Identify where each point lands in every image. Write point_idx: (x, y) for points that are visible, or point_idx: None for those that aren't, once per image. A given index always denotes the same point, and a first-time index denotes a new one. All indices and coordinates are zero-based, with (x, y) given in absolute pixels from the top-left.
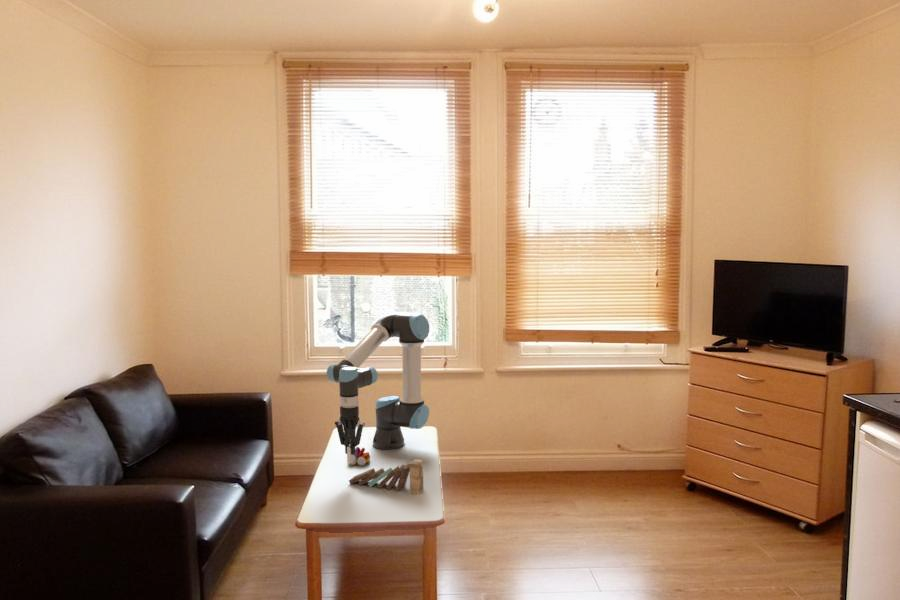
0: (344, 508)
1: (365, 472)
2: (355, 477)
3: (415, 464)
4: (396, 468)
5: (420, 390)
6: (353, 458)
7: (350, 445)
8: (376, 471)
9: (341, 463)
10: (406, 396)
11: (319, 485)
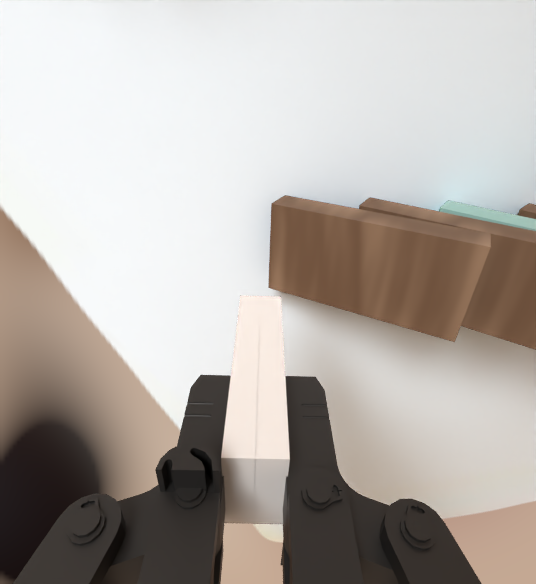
0: (367, 475)
1: (401, 272)
2: (317, 287)
3: None
4: None
5: None
6: (281, 317)
7: (287, 559)
8: (509, 254)
9: None
10: None
11: (110, 337)
